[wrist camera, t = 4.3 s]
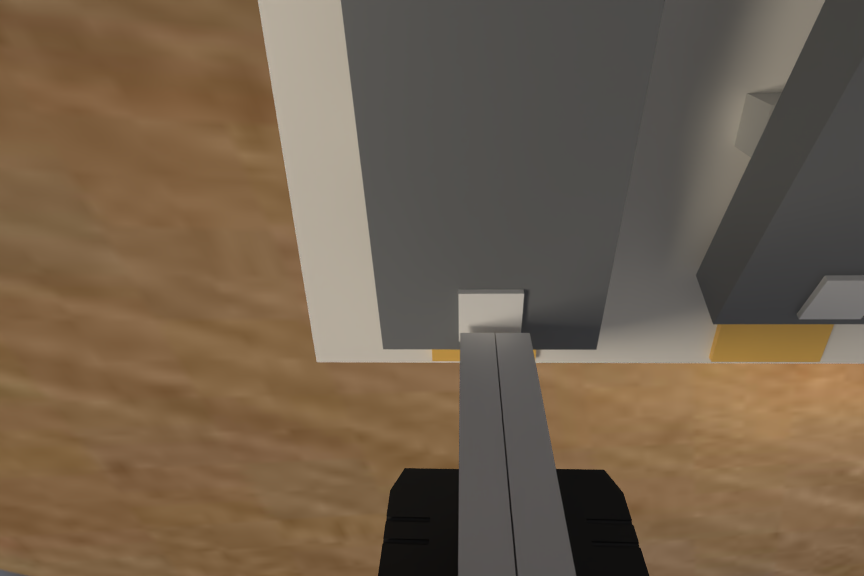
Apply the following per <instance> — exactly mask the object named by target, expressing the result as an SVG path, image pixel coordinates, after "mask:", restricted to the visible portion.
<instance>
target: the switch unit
mask: <svg viewBox="0 0 864 576" xmlns="http://www.w3.org/2000/svg"><path fill="white" fill-rule="evenodd" d="M824 2H825V0H665V3H664V8H663V13H662V18H661V23H660V28H659V33H658V38H657V43H656V48H655V54H654V59H653V64H652V69H651V74H650V79H649V84H648V89H647V94H646V99H645V105H644V110H643V115H642V120H641V125H640V130H639V135H638V140H637V145H636V150H635V155H634V161H633V166H632V171H631V176H630V181H629V186H628V191H627V196H626V201H625V206H624V212H623V217H622V222H621V227H620V232H619V237H618V242H617V247H616V252H615V257H614V263H613V268H612V273H611V278H610V283H609V288H608V293H607V298H606V303H605V308H604V314H603V319H602V324H601V329H600V334H599V339H598V344H597V349H596V350H533V353H534V358H535V363H859V364H864V324H713V323H712V320H711V317H710V314H709V311H708V308H707V306H706V303H705V300H704V297H703V294H702V291H701V289H700V286H699V283H698V280H697V277H696V274H697V271H698V269H699V267H700V265H701V263H702V261H703V259H704V257H705V254H706V252H707V250H708V248H709V246H710V244H711V242H712V240H713V237H714V235H715V233H716V231H717V229H718V227H719V225H720V223H721V220H722V218H723V216H724V214H725V212H726V210H727V208H728V206H729V203H730V201H731V199H732V197H733V195H734V193H735V191H736V189H737V187H738V184H739V182H740V180H741V178H742V176H743V174H744V172H745V170H746V167H747V165H748V163H749V161H750V159H751V157H752V155H753V153H754V150H755V148H756V146H757V144H758V142H759V140H760V138H761V136H762V133H763V131H764V129H765V127H766V125H767V123H768V121H769V119H770V117H771V114H772V112H773V110H774V108H775V106H776V104H777V102H778V100H779V97H780V95H781V93H782V91H783V89H784V87H785V85H786V83H787V80H788V78H789V76H790V74H791V72H792V70H793V68H794V66H795V63H796V61H797V59H798V57H799V55H800V53H801V51H802V49H803V46H804V44H805V42H806V40H807V38H808V36H809V34H810V32H811V30H812V27H813V25H814V23H815V21H816V19H817V17H818V15H819V13H820V10H821V8H822V6H823V4H824ZM258 4H259V10H260V16H261V22H262V29H263V35H264V41H265V47H266V53H267V59H268V65H269V72H270V78H271V84H272V90H273V96H274V102H275V108H276V115H277V121H278V127H279V133H280V139H281V145H282V151H283V158H284V164H285V170H286V176H287V182H288V188H289V194H290V201H291V207H292V213H293V219H294V225H295V231H296V237H297V244H298V250H299V256H300V262H301V268H302V274H303V280H304V287H305V293H306V299H307V305H308V311H309V317H310V323H311V330H312V336H313V342H314V348H315V354H316V360H317V362H458V363H460V350H450V349H383V344H382V336H381V328H380V319H379V311H378V303H377V295H376V287H375V278H374V270H373V262H372V254H371V245H370V237H369V229H368V221H367V212H366V204H365V196H364V188H363V180H362V171H361V163H360V155H359V147H358V138H357V130H356V122H355V114H354V106H353V97H352V89H351V81H350V73H349V64H348V56H347V48H346V40H345V31H344V23H343V15H342V7H341V0H258Z"/></svg>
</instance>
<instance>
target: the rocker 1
mask: <svg viewBox="0 0 864 576" xmlns="http://www.w3.org/2000/svg"><path fill="white" fill-rule="evenodd" d="M664 3H665V0H341V7H342V15H343V23H344V31H345V40H346V48H347V56H348V64H349V73H350V81H351V89H352V97H353V106H354V114H355V122H356V130H357V138H358V147H359V155H360V163H361V171H362V180H363V188H364V196H365V204H366V212H367V221H368V229H369V237H370V245H371V254H372V262H373V270H374V278H375V287H376V295H377V303H378V311H379V319H380V328H381V336H382V344H383V349H450V350H460V333H494V334H495V333H530V337H531V342H532V347H533V350H596V349H597V344H598V339H599V334H600V329H601V324H602V319H603V314H604V308H605V303H606V298H607V293H608V288H609V283H610V278H611V273H612V268H613V263H614V257H615V252H616V247H617V242H618V237H619V232H620V227H621V222H622V217H623V212H624V206H625V201H626V196H627V191H628V186H629V181H630V176H631V171H632V166H633V161H634V155H635V150H636V145H637V140H638V135H639V130H640V125H641V120H642V115H643V110H644V105H645V99H646V94H647V89H648V84H649V79H650V74H651V69H652V64H653V59H654V54H655V48H656V43H657V38H658V33H659V28H660V23H661V18H662V13H663V8H664Z"/></svg>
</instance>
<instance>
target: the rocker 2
mask: <svg viewBox="0 0 864 576" xmlns="http://www.w3.org/2000/svg"><path fill="white" fill-rule="evenodd" d="M696 277H697V280H698V283H699V286H700V289H701V291H702V294H703V297H704V300H705V303H706V306H707V308H708V311H709V314H710V317H711V320H712V323H713V324H864V0H825V2H824V4H823V6H822V8H821V10H820V13H819V15H818V17H817V19H816V21H815V23H814V25H813V27H812V30H811V32H810V34H809V36H808V38H807V40H806V42H805V44H804V46H803V49H802V51H801V53H800V55H799V57H798V59H797V61H796V63H795V66H794V68H793V70H792V72H791V74H790V76H789V78H788V80H787V83H786V85H785V87H784V89H783V91H782V93H781V95H780V97H779V100H778V102H777V104H776V106H775V108H774V110H773V112H772V114H771V117H770V119H769V121H768V123H767V125H766V127H765V129H764V131H763V133H762V136H761V138H760V140H759V142H758V144H757V146H756V148H755V150H754V153H753V155H752V157H751V159H750V161H749V163H748V165H747V167H746V170H745V172H744V174H743V176H742V178H741V180H740V182H739V184H738V187H737V189H736V191H735V193H734V195H733V197H732V199H731V201H730V203H729V206H728V208H727V210H726V212H725V214H724V216H723V218H722V220H721V223H720V225H719V227H718V229H717V231H716V233H715V235H714V237H713V240H712V242H711V244H710V246H709V248H708V250H707V252H706V254H705V257H704V259H703V261H702V263H701V265H700V267H699V269H698V271H697V274H696Z"/></svg>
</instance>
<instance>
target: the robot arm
mask: <svg viewBox="0 0 864 576" xmlns="http://www.w3.org/2000/svg"><path fill="white" fill-rule="evenodd" d="M383 539H384V541H383V545H382V552H381V559H380V566H379V573H378V576H649V573H648V570H647V567H646V564H645V561H644V558H643V554H642V551H641V548H639V542H638V538H637V535H636V532H635V529H634V526H633V525H632V519H631V516H630V513H629V510H628V507H627V503H626V500H625V497H624V494H623V492H622V491H621V490H620V488H619V487H618V486H617V485H616V484H615V482H614V481H613V480H612V479H611V478H610V476H609V475H608V474H607V473H606V471H605V470H581V469H556V468H555V462H554V457H553V452H552V447H551V441H550V436H549V431H548V426H547V421H546V415H545V410H544V405H543V400H542V394H541V389H540V384H539V379H538V374H537V368H536V363H535V358H534V353H533V347H532V342H531V337H530V333H495V334H494V333H460V419H459V469H416V468H405V469H404V470H403V472H402V473H401V475H400V476H399V478H398V480H397V481H396V483H395V484H394V486H393V487H392V489H391V490H390V496H389V503H388V510H387V521H386V524H385V531H384V538H383Z"/></svg>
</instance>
